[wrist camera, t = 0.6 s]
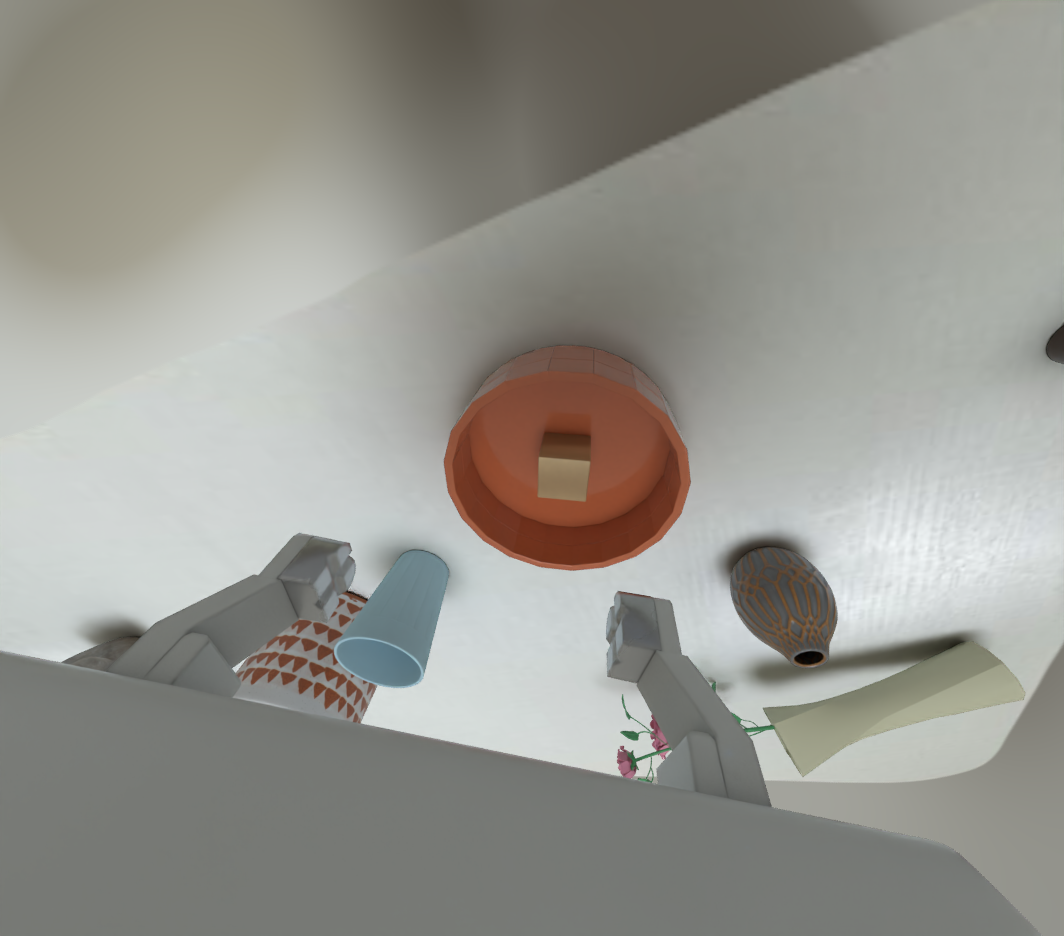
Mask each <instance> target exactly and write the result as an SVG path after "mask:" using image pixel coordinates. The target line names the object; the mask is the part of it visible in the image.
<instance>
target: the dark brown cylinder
mask: <svg viewBox="0 0 1064 936" xmlns="http://www.w3.org/2000/svg"><path fill="white" fill-rule="evenodd" d="M1047 354H1048V356H1049V358H1050V359H1052V360H1053V361H1055V362H1058V363H1061V364H1064V326H1063V327H1061V328H1060V329H1059V330H1058V331H1057V332H1056V333H1055V334H1054V335H1053V337H1052V338H1051V340H1050V341H1049V343H1048V346H1047Z"/></svg>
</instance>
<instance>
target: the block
mask: <svg viewBox="0 0 1064 936" xmlns="http://www.w3.org/2000/svg"><path fill="white" fill-rule="evenodd" d="M590 463H591V436H585V435H572V434H559V433H546V432H545V433H544V435H543V439H542V444H541V448H540V453H539V457H538V494H537V496H538V497H541V498H551V499H562V500H573V501H583V502H585V501H586V497H587V488H588V480H589V472H590Z"/></svg>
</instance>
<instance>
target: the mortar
mask: <svg viewBox="0 0 1064 936" xmlns="http://www.w3.org/2000/svg"><path fill="white" fill-rule="evenodd" d="M138 639H139V638H137V637H123V638H119V639H115V640H112V641H109V642H106V643H103V644H101V645H98V646H96V647H93V648H91V649H88V650H86V651H84V652H81V653H79V654H77V655H75V656H73V657H71V658H69V659H67V660H65V661H63V662H61V663H65V664H70V665H75V666H80V667H85V668H90V669H95V670H100V671H104V672H105V671H106V670H107V669H108V668H109V667H110V666H111V665H112V664H113V663H114V662H116V661H117V660H118V659H119V658H120V657H121V656H122V655H123V654H124V653H125V652H126V651H127V650H128V649H129V648H130V647H131V646H132V645H133V644H134V643H135V642H136V641H137V640H138Z"/></svg>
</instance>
